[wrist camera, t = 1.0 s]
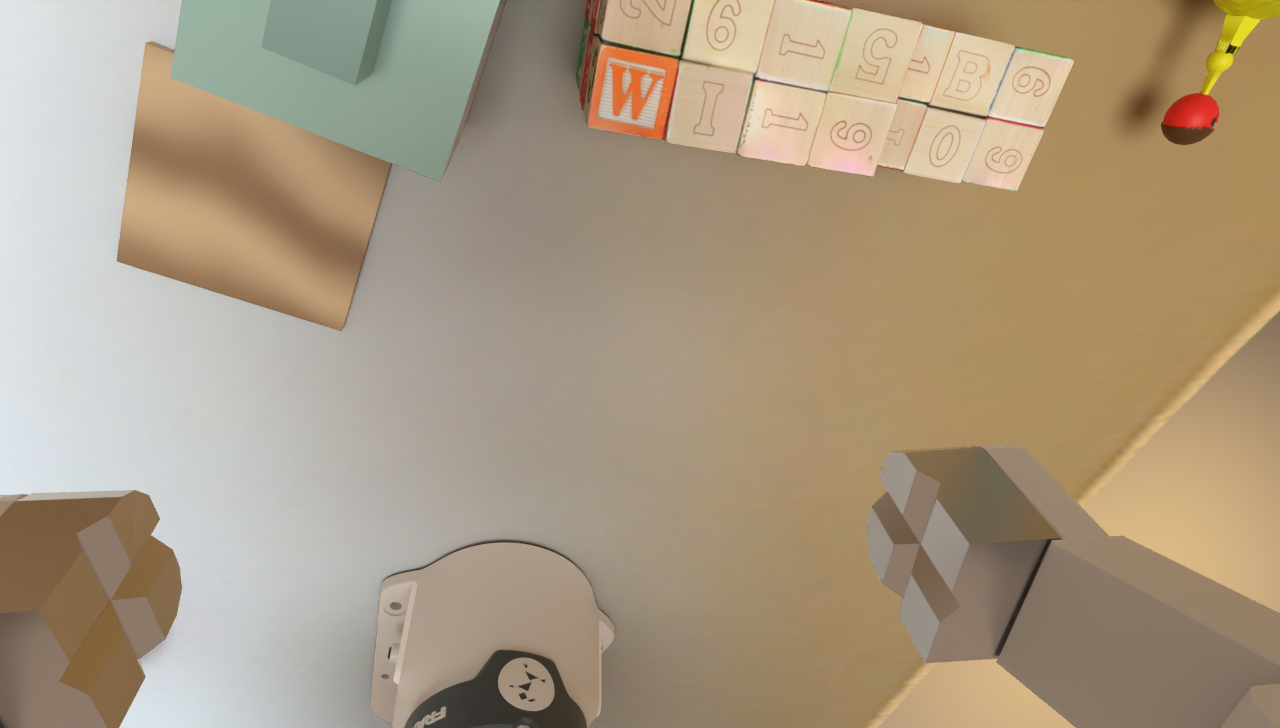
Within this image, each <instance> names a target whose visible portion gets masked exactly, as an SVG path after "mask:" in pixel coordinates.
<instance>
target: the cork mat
mask: <svg viewBox="0 0 1280 728" xmlns="http://www.w3.org/2000/svg"><path fill="white" fill-rule="evenodd" d="M174 52H175V51H173V50H171V49H168V48H166V47H163V46H161V45H158V44H156V43H153V42H148V43H146V44H145V51H144V59H143V66H142V74H141V81H140V89H139V97H138V104H137V112H136V119H135V127H134V134H133V142H132V149H131V157H130V164H129V172H128V179H127V187H126V195H125V202H124V210H123V217H122V225H121V232H120V240H119V247H118V255H117V262H120V263H124V264H127V265H130V266H133V267H137V268H140V269H143V270H146V271H149V272H153V273H156V274H159V275H162V276H166V277H169V278H172V279H175V280H178V281H182V282H185V283H188V284H191V285H195V286H198V287H201V288H204V289H207V290H211V291H214V292H217V293H220V294H224V295H227V296H230V297H233V298H236V299H240V300H243V301H246V302H249V303H253V304H256V305H259V306H262V307H266V308H269V309H272V310H275V311H278V312H282V313H285V314H288V315H291V316H295V317H298V318H301V319H304V320H307V321H311V322H314V323H317V324H320V325H324V326H327V327H330V328H333V329H336V330H340V331H342V330H343V328H344V325H345V322H346V318H347V315H348V311H349V308H350V304H351V301H352V298H353V294H354V291H355V287H356V284H357V280H358V277H359V274H360V270H361V267H362V263H363V260H364V256H365V253H366V250H367V246H368V243H369V239H370V236H371V232H372V229H373V226H374V222H375V219H376V215H377V212H378V208H379V205H380V201H381V198H382V195H383V191H384V188H385V184H386V181H387V177H388V174H389V171H390V167H391V164H392V163H389V162H387V161H384V160H381V159H379V158H376V157H374V156H371V155H368V154H366V153H363V152H361V151H358V150H356V149H353V148H350V147H348V146H345V145H343V144H340V143H337V142H335V141H332V140H330V139H327V138H324V137H322V136H319V135H317V134H314V133H312V132H309V131H306V130H304V129H301V128H299V127H296V126H293V125H291V124H288V123H286V122H283V121H280V120H278V119H275V118H273V117H270V116H268V115H265V114H262V113H260V112H257V111H255V110H252V109H249V108H247V107H244V106H242V105H239V104H236V103H234V102H231V101H229V100H226V99H224V98H221V97H218V96H216V95H213V94H211V93H208V92H205V91H203V90H200V89H198V88H195V87H192V86H190V85H187V84H185V83H182V82H180V81H177V80H174V79H172V78H171V72H172V65H173V59H174Z"/></svg>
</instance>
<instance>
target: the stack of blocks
mask: <svg viewBox="0 0 1280 728" xmlns="http://www.w3.org/2000/svg"><path fill="white" fill-rule="evenodd" d="M585 16H586V19H585V26H584V32H583V38H582V44H581V50H580V56H579V63H578V69H577V74H576V81H577V85H578V88H579V92H580V101H581V106H582V110H583V111H585V116H586V121H587V125H588V127H589V128H594V129H600V130H605V131H611V132H617V133H623V134H629V135H634V136H640V137H645V138H651V139H656V140H661V139H663V140H664V141H666V142H667V143H670V144H676V145H683V146H689V147H696V148H702V149H708V150H714V151H721V152H728V153H735V152H736V153H737V154H738V155H739V156H742V157H746V158H751V159H758V160H765V161H771V162H777V163H784V164H790V165H796V166H804V165H808V166H811V167H814V168H820V169H827V170H833V171H839V172H845V173H851V174H858V175H865V176H870V177H871V176H874V173H875V170H876V167H877V166H880V167H885V168H890V169H896V170H900V171H901V172H903V173H906V174H911V175H915V176H920V177H925V178H930V179H936V180H942V181H947V182H953V183H960V182H962V181H963V182H968V183H972V184H978V185H983V186H988V187H993V188H999V189H1004V190H1009V191H1017V189H1018V187H1019V185H1020V183H1021V181H1022V178H1023V176H1024V174H1025V172H1026V170H1027V167H1028V165H1029V163H1030V161H1031V158H1032V156H1033V154H1034V152H1035V150H1036V148H1037V146H1038V143H1039V141H1040V139H1041V137H1042V135H1043V133H1044V131H1043V127H1044V126H1045V124H1046V123H1047V121H1048V118H1049V116H1050V114H1051V112H1052V110H1053V108H1054V105H1055V103H1056V101H1057V99H1058V97H1059V94H1060V92H1061V89H1062V87H1063V85H1064V83H1065V81H1066V78H1067V76H1068V74H1069V72H1070V70H1071V67H1072V65H1073V63H1074V60H1073V59H1071V58H1066V57H1062V56H1057V55H1053V54H1048V53H1043V52H1039V51H1035V50H1031V49H1025V48H1020V47H1015V45H1012V44H1008V43H1004V42H1000V41H995V40H990V39H986V38H982V37H978V36H973V35H969V34H965V33H960V32H955V31H952V30H948V29H943V28H939V27H935V26H930V25H925V24H923V23H922V22H919V21H914V20H910V19H905V18H900V17H896V16H891V15H886V14H882V13H877V12H872V11H868V10H863V9H858V8H854V7H847V6H841V5H836V4H832V3H828V2H823V1H817V0H587V7H586V12H585Z"/></svg>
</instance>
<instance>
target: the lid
mask: <svg viewBox="0 0 1280 728" xmlns="http://www.w3.org/2000/svg"><path fill="white" fill-rule="evenodd" d="M499 4H500V0H182V5H181V12H180V19H179V25H178V32H177V39H176V45H175V52H174V59H173V65H172V72H171V78H172V79H174V80H177V81H180V82H182V83H185V84H187V85H190V86H192V87H195V88H198V89H200V90H203V91H205V92H208V93H211V94H213V95H216V96H218V97H221V98H224V99H226V100H229V101H231V102H234V103H236V104H239V105H242V106H244V107H247V108H249V109H252V110H255V111H257V112H260V113H262V114H265V115H268V116H270V117H273V118H275V119H278V120H280V121H283V122H286V123H288V124H291V125H293V126H296V127H299V128H301V129H304V130H306V131H309V132H312V133H314V134H317V135H319V136H322V137H324V138H327V139H330V140H332V141H335V142H337V143H340V144H343V145H345V146H348V147H350V148H353V149H356V150H358V151H361V152H363V153H366V154H368V155H371V156H374V157H376V158H379V159H381V160H384V161H387V162H389V163H392V164H394V165H397V166H400V167H402V168H405V169H407V170H410V171H412V172H415V173H418V174H420V175H423V176H425V177H428V178H431V179H433V180H436V181H438V182H441V180H442V178H443V176H444V173H445V170H446V166H447V163H448V160H449V157H450V154H451V151H452V148H453V145H454V142H455V139H456V136H457V133H458V130H459V127H460V123H461V120H462V117H463V114H464V111H465V108H466V105H467V102H468V99H469V96H470V93H471V90H472V87H473V83H474V80H475V77H476V74H477V71H478V68H479V65H480V62H481V59H482V56H483V53H484V50H485V47H486V44H487V40H488V37H489V34H490V31H491V28H492V25H493V22H494V19H495V16H496V13H497V10H498V7H499Z"/></svg>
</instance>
